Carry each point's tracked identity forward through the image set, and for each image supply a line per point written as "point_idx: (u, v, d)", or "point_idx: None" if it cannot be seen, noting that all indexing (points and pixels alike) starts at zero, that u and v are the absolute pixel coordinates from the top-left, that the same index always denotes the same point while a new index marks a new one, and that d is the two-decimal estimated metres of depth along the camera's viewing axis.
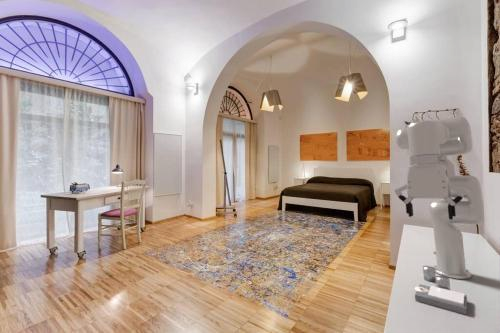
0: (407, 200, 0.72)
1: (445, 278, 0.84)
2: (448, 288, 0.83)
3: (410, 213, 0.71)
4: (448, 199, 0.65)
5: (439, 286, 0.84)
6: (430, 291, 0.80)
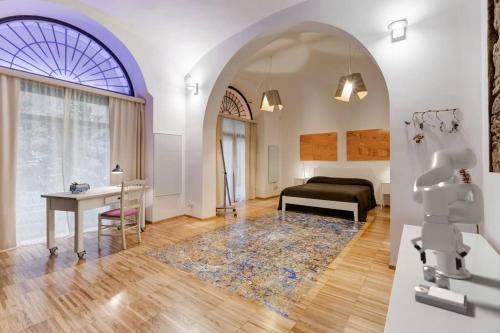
0: (421, 250, 0.88)
1: (445, 278, 0.84)
2: (448, 288, 0.83)
3: (424, 261, 0.87)
4: (456, 253, 0.81)
5: (439, 286, 0.84)
6: (430, 291, 0.80)
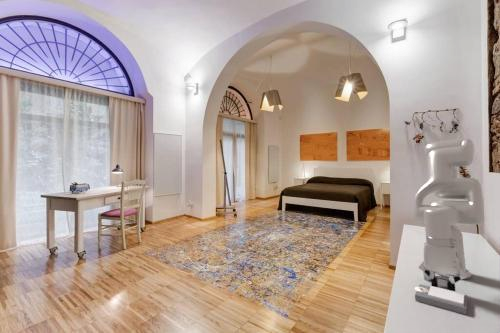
0: (431, 275, 0.86)
1: (445, 278, 0.84)
2: (448, 288, 0.83)
3: None
4: (451, 278, 0.82)
5: (439, 286, 0.84)
6: (430, 291, 0.80)
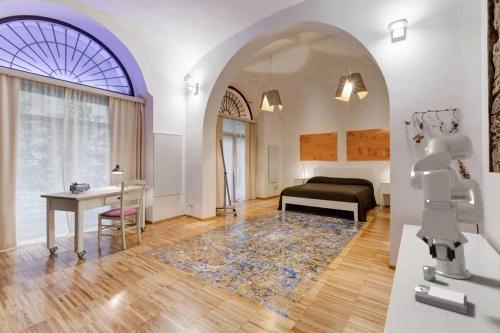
0: (429, 243, 0.80)
1: (444, 245, 0.78)
2: (447, 255, 0.77)
3: (434, 255, 0.79)
4: (451, 243, 0.76)
5: (438, 253, 0.78)
6: (430, 291, 0.80)
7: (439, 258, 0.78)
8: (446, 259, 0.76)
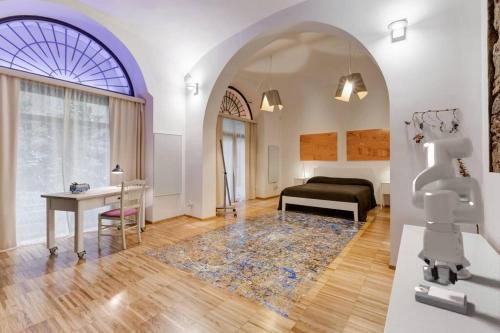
0: (431, 264, 0.79)
1: (446, 267, 0.77)
2: (450, 277, 0.76)
3: (436, 277, 0.78)
4: (453, 266, 0.75)
5: (440, 275, 0.77)
6: (430, 291, 0.80)
7: (441, 280, 0.77)
8: (448, 282, 0.76)
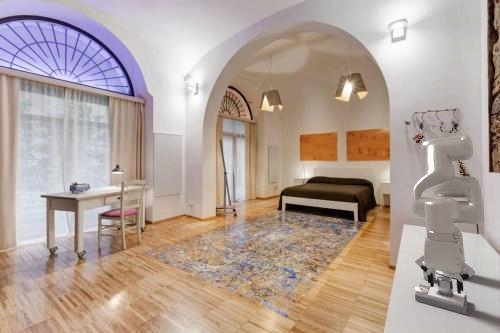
0: (428, 271, 0.80)
1: (448, 280, 0.77)
2: (451, 290, 0.76)
3: (432, 284, 0.79)
4: (458, 275, 0.75)
5: (441, 288, 0.77)
6: (430, 291, 0.80)
7: (442, 293, 0.77)
8: (449, 295, 0.76)
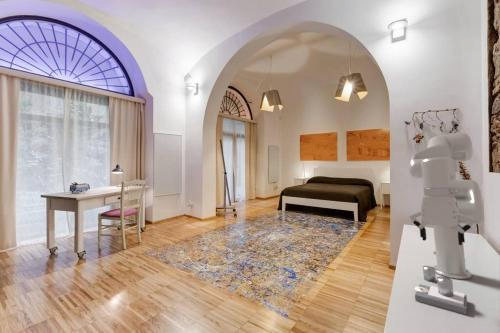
0: (421, 226, 0.82)
1: (448, 280, 0.77)
2: (451, 290, 0.76)
3: (424, 237, 0.81)
4: (458, 227, 0.75)
5: (441, 288, 0.77)
6: (430, 291, 0.80)
7: (442, 293, 0.77)
8: (449, 295, 0.76)
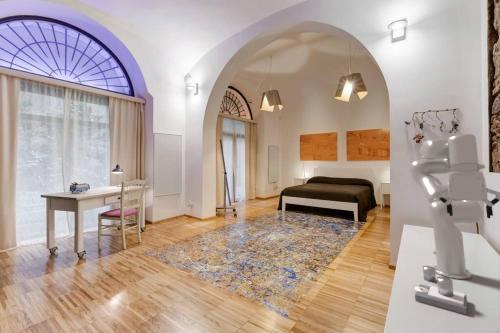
0: (448, 202, 0.84)
1: (448, 280, 0.77)
2: (451, 290, 0.76)
3: (451, 212, 0.83)
4: (486, 201, 0.77)
5: (441, 288, 0.77)
6: (430, 291, 0.80)
7: (442, 293, 0.77)
8: (449, 295, 0.76)
